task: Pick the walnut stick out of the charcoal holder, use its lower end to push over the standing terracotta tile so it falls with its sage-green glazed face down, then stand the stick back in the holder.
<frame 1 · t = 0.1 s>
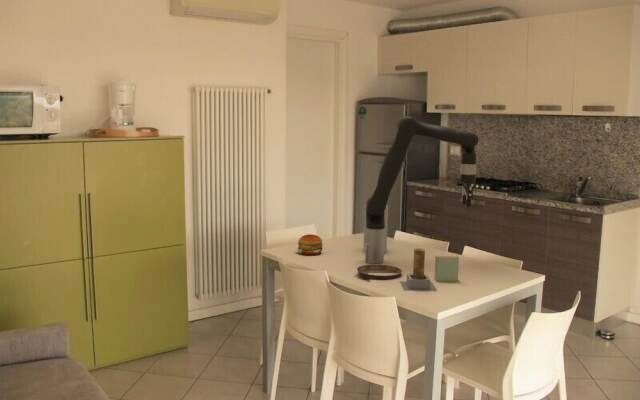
hand: (466, 205, 300), 29 cm above the table, tool pointing down, fingers open, 8 cm apart
tile: (446, 282, 269), on the table
burger: (310, 253, 321), on the table
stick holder: (417, 288, 259), on the table
wooden stick: (418, 286, 259), point 1 cm above the table, touching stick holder
cylinder vase: (374, 251, 326), on the table
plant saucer: (379, 276, 278), on the table
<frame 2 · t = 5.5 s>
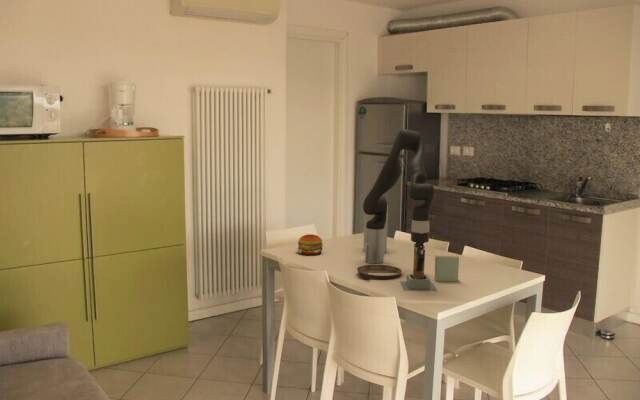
hand: (418, 269, 258), 8 cm above the table, tool pointing down, fingers closed on wooden stick, 4 cm apart
wooden stick: (418, 286, 259), point 1 cm above the table, touching gripper, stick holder
everything else where it was.
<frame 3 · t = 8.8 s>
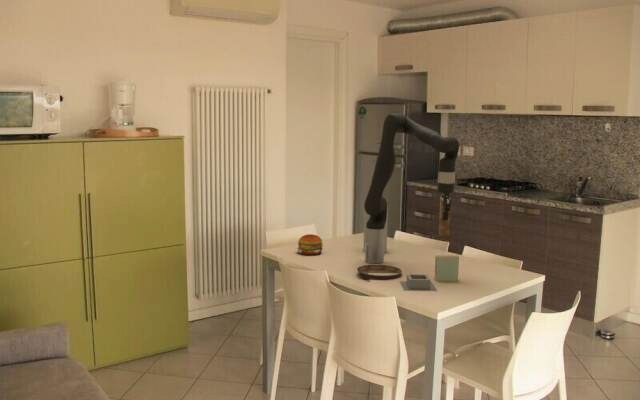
hand: (444, 219, 273), 27 cm above the table, tool pointing down, fingers closed on wooden stick, 4 cm apart
wooden stick: (443, 234, 274), point 20 cm above the table, touching gripper
everything else where it was.
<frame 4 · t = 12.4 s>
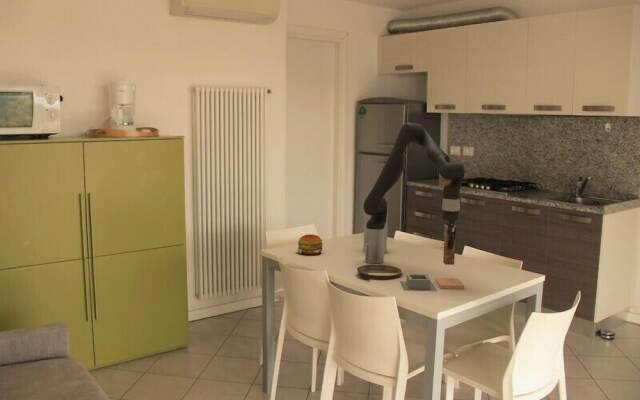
hand: (449, 247, 264), 16 cm above the table, tool pointing down, fingers closed on wooden stick, 4 cm apart
tile: (446, 281, 267), point 1 cm above the table, tilted 90°
wooden stick: (448, 263, 265), point 9 cm above the table, touching gripper
everything else where it was.
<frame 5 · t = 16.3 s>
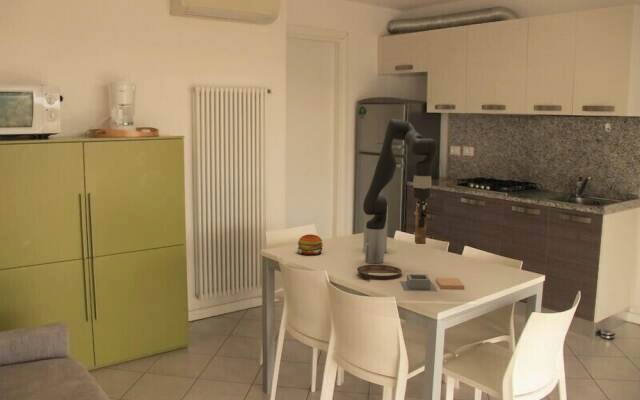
hand: (420, 226, 255), 27 cm above the table, tool pointing down, fingers closed on wooden stick, 4 cm apart
wooden stick: (420, 243, 256), point 20 cm above the table, touching gripper
everything else where it was.
when the fingers open (10 cm above the table, at t = 19.9 s): wooden stick drops 1 cm, resting on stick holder.
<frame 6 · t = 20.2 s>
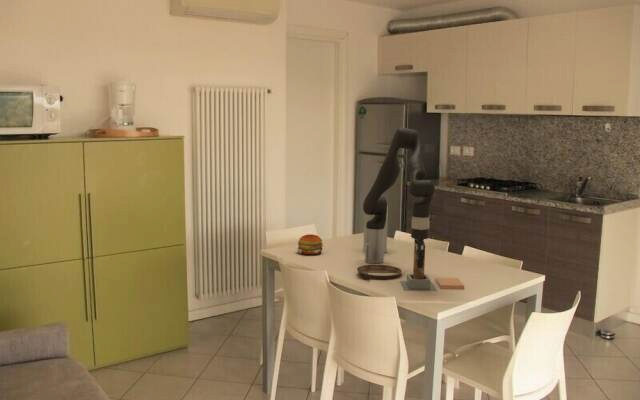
hand: (418, 265, 257), 10 cm above the table, tool pointing down, fingers open, 6 cm apart
wooden stick: (418, 285, 259), point 1 cm above the table, touching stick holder
everything else where it was.
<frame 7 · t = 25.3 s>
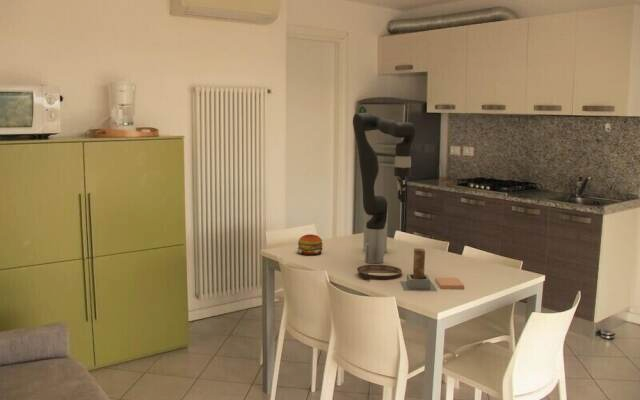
hand: (401, 200, 280), 34 cm above the table, tool pointing down, fingers open, 8 cm apart
nothing on the table moved.
at the end: tile tilted 90°; tile inside the target area (4.5 cm from its centre), point 1.0 cm above the table; wooden stick 0.1 cm off-centre on the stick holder, point 1.0 cm above the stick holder's base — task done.
